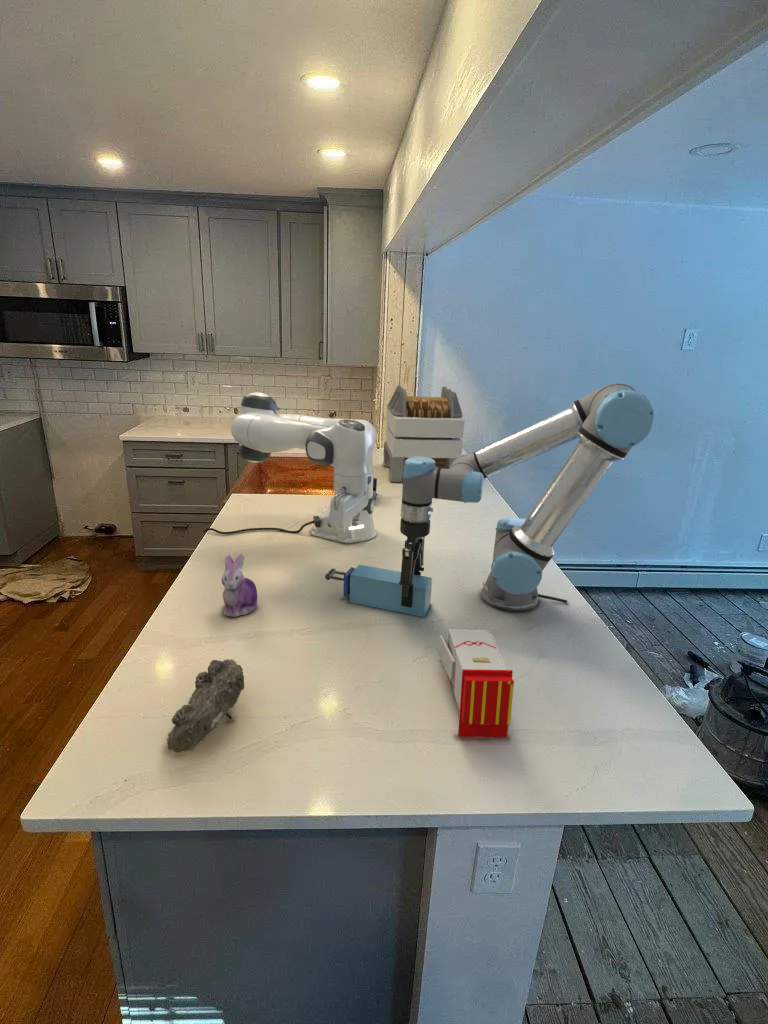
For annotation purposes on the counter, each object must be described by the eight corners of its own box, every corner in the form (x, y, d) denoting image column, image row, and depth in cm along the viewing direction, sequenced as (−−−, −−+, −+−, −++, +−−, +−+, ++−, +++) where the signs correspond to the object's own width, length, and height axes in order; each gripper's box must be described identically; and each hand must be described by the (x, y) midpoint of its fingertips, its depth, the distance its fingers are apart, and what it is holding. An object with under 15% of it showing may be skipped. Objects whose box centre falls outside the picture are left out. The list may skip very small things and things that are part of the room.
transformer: (382, 463, 289) (386, 382, 275) (445, 464, 293) (451, 384, 279) (390, 482, 257) (394, 392, 243) (460, 483, 261) (468, 394, 247)
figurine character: (377, 508, 228) (376, 492, 242) (377, 490, 225) (377, 476, 238) (360, 507, 228) (361, 492, 242) (360, 490, 225) (361, 475, 238)
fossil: (192, 660, 117) (244, 628, 112) (224, 691, 120) (276, 661, 115) (142, 746, 98) (202, 712, 93) (182, 779, 101) (242, 748, 96)
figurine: (226, 621, 140) (223, 566, 135) (217, 603, 148) (214, 550, 143) (264, 614, 144) (262, 560, 139) (253, 596, 153) (251, 545, 148)
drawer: (323, 592, 155) (323, 571, 153) (331, 584, 160) (332, 563, 158) (412, 610, 148) (413, 588, 146) (418, 600, 153) (419, 579, 151)
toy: (488, 613, 130) (523, 677, 101) (484, 667, 133) (517, 744, 104) (435, 612, 130) (455, 676, 101) (432, 666, 133) (451, 743, 103)
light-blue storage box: (349, 602, 152) (350, 574, 150) (358, 591, 158) (359, 564, 156) (423, 617, 147) (425, 588, 144) (430, 604, 153) (432, 577, 150)
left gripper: (346, 495, 139) (345, 547, 144) (374, 474, 157) (372, 521, 162) (323, 492, 141) (322, 543, 145) (353, 471, 159) (351, 517, 164)
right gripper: (420, 534, 132) (414, 620, 140) (439, 508, 150) (432, 586, 158) (389, 529, 135) (385, 614, 142) (411, 504, 152) (407, 581, 160)
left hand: (349, 531), depth 154 cm, fingers open, 8 cm apart
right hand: (410, 599), depth 150 cm, fingers closed on light-blue storage box, 7 cm apart
